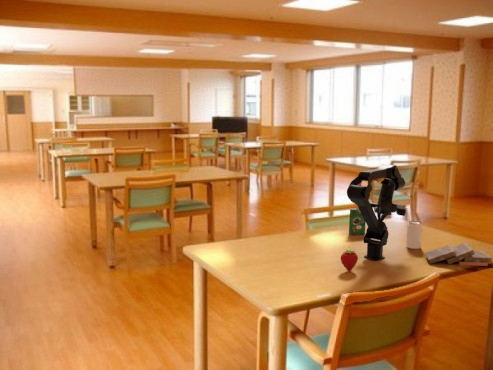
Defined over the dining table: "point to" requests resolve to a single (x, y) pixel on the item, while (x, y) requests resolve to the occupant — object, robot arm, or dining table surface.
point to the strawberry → (349, 259)
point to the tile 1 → (440, 254)
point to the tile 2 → (460, 253)
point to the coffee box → (356, 222)
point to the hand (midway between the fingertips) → (379, 224)
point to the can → (414, 235)
